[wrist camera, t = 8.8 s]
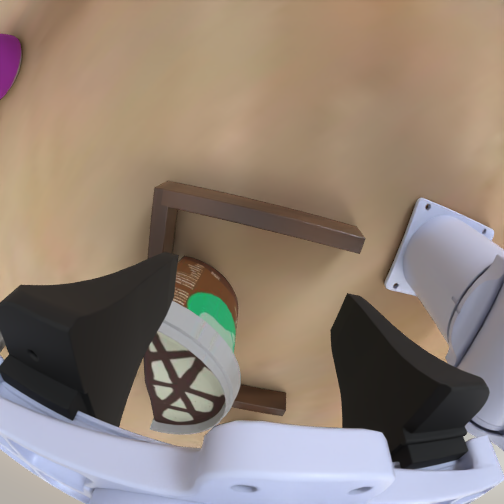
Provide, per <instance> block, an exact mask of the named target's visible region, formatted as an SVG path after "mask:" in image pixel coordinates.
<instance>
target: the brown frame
mask: <svg viewBox="0 0 504 504" xmlns="http://www.w3.org/2000/svg"><path fill="white" fill-rule="evenodd" d="M178 209H179V210H183V211H188V212H192V213H196V214H201V215H205V216H210V217H214V218H218V219H222V220H227V221H231V222H235V223H239V224H244V225H248V226H252V227H256V228H260V229H264V230H268V231H272V232H276V233H280V234H285V235H289V236H293V237H296V238H300V239H304V240H308V241H312V242H316V243H320V244H324V245H328V246H332V247H335V248H339V249H343V250H347V251H351V252H354V253H358V254H360V252H361V249H362V247H363V244H364V241H365V237H364V236H363V235H362V233H361V232H360V230H359V229H358V228H357V227H356V226H352V225H349V224H345V223H342V222H338V221H335V220H331V219H327V218H324V217H320V216H316V215H313V214H309V213H305V212H301V211H298V210H294V209H290V208H286V207H282V206H278V205H274V204H270V203H266V202H262V201H258V200H253V199H249V198H245V197H241V196H236V195H232V194H228V193H223V192H219V191H214V190H209V189H205V188H200V187H195V186H191V185H186V184H181V183H176V182H171V181H166V182H164V183H162V184H160V185H159V186H157V187H155V189H154V197H153V206H152V215H151V225H150V236H149V249H148V259H149V258H151V257H153V256H156V255H158V254H160V253H163V252H167V253H171V254H172V251H173V243H174V235H175V227H176V219H177V212H178ZM232 407H234V408H239V409H244V410H249V411H255V412H260V413H266V414H272V415H279V416H283V414H284V412H285V411H286V393H284V392H278V391H272V390H267V389H261V388H256V387H251V386H246V385H241V384H240V388H239V391H238V394H237V396H236V398H235V400H234V402H233V404H232Z"/></svg>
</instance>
